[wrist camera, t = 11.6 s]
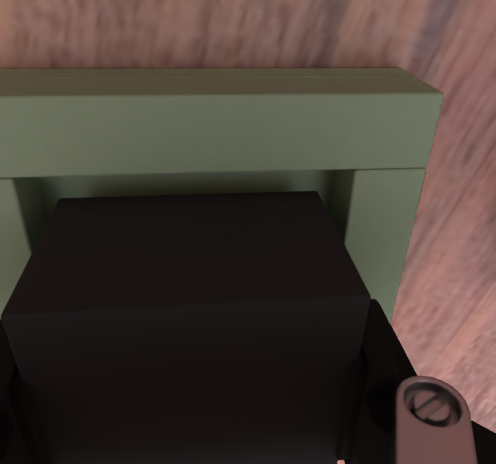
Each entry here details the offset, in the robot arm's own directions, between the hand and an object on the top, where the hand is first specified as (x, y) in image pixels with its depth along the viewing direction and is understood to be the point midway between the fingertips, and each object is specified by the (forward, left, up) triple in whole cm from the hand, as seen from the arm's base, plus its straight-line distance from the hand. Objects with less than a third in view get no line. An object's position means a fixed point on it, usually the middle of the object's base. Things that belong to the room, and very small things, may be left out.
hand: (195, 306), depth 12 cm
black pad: (0, 0, -1) cm, 1 cm away
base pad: (0, 0, -3) cm, 3 cm away
